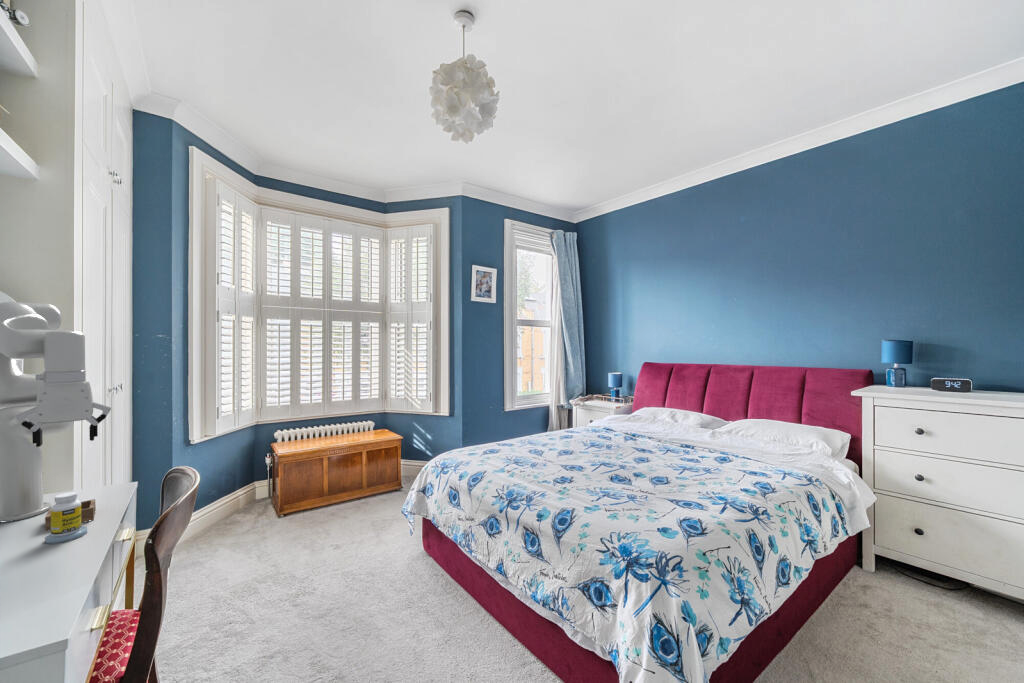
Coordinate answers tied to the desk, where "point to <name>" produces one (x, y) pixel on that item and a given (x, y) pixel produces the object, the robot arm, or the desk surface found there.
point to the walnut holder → (86, 513)
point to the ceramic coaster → (54, 540)
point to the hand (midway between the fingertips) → (66, 442)
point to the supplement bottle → (65, 515)
